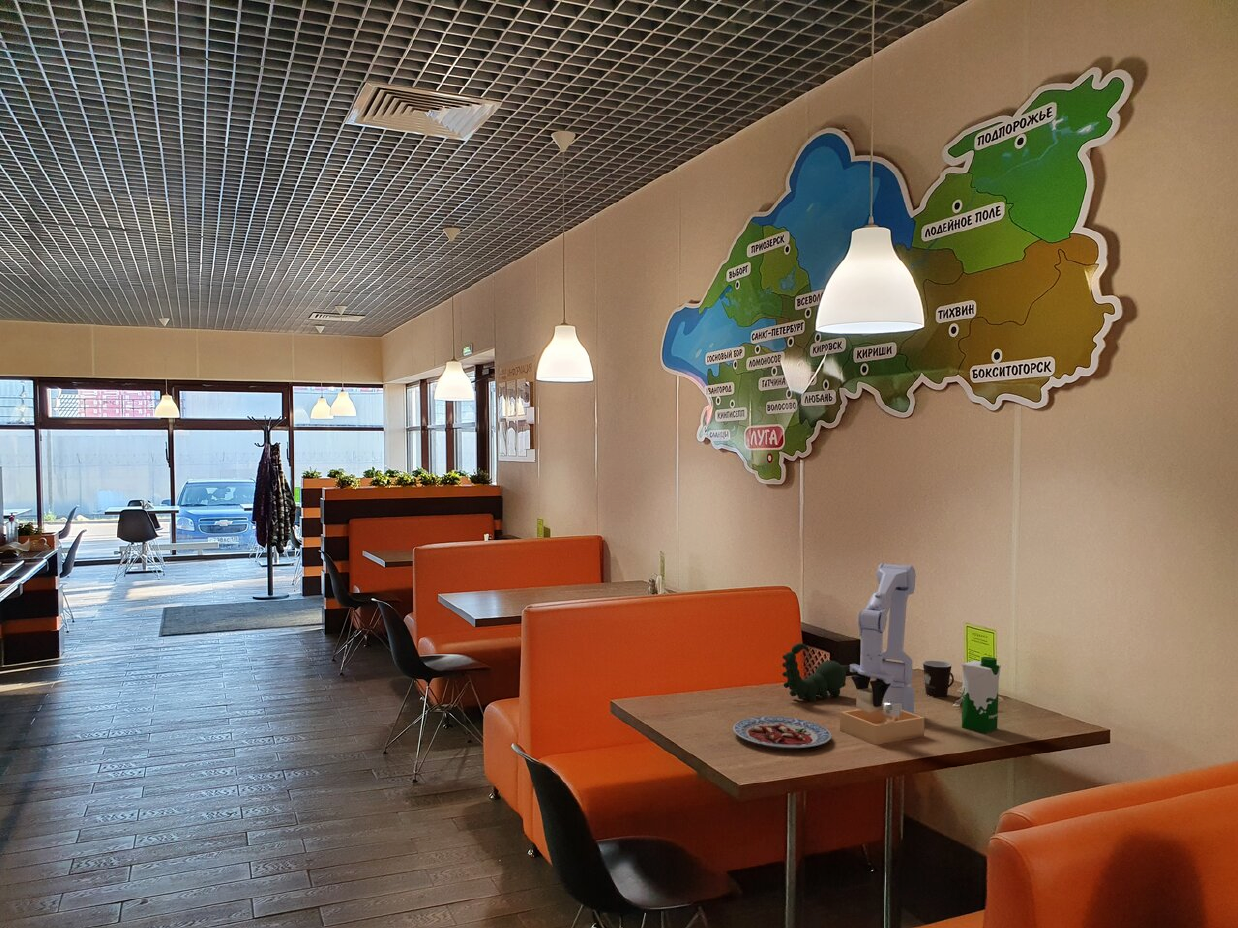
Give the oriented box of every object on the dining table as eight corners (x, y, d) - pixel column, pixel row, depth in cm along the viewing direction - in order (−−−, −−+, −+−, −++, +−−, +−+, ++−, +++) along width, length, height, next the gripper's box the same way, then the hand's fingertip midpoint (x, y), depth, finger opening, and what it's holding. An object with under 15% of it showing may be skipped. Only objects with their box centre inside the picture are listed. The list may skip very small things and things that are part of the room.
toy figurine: (797, 711, 273) (860, 695, 284) (794, 649, 272) (858, 635, 283) (778, 703, 281) (840, 687, 293) (775, 643, 280) (837, 630, 292)
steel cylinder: (893, 724, 253) (893, 699, 253) (905, 729, 248) (905, 704, 248) (878, 726, 251) (879, 701, 251) (890, 731, 247) (890, 706, 246)
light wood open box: (887, 722, 258) (887, 704, 258) (923, 735, 246) (924, 717, 246) (839, 729, 250) (840, 711, 250) (875, 744, 238) (875, 725, 238)
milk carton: (988, 734, 248) (990, 662, 248) (956, 727, 255) (958, 656, 254) (1002, 728, 254) (1003, 657, 254) (970, 721, 261) (972, 651, 260)
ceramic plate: (756, 757, 226) (756, 746, 226) (718, 726, 251) (719, 716, 251) (849, 751, 233) (849, 740, 233) (803, 721, 258) (804, 711, 258)
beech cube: (870, 705, 250) (870, 687, 250) (883, 710, 245) (883, 692, 245) (856, 707, 247) (856, 689, 247) (869, 712, 243) (869, 694, 243)
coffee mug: (919, 690, 294) (920, 659, 293) (947, 692, 292) (948, 661, 292) (926, 700, 282) (927, 668, 282) (955, 702, 281) (956, 669, 281)
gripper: (841, 649, 251) (840, 698, 251) (879, 660, 238) (878, 712, 238) (861, 647, 254) (860, 695, 254) (899, 658, 241) (898, 709, 241)
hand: (870, 703), depth 246 cm, fingers closed on beech cube, 5 cm apart
